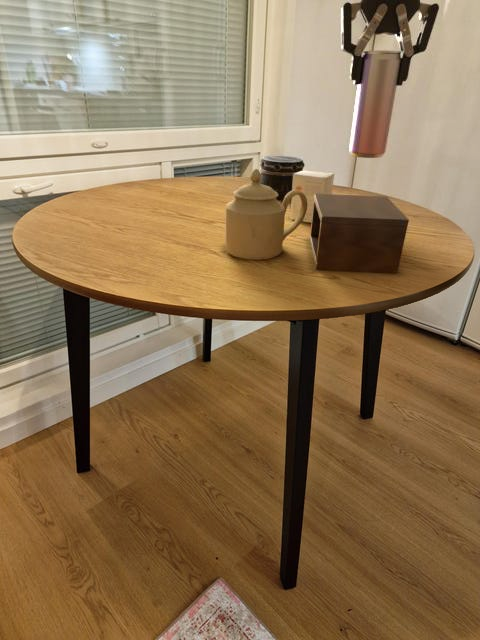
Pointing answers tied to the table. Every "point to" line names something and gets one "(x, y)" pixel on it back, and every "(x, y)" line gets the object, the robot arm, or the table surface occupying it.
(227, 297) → the table surface
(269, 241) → the sugar bowl
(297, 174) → the small box
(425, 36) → the robot arm
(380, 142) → the beverage can
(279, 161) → the container
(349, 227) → the open-ended wooden box
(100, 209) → the table surface
